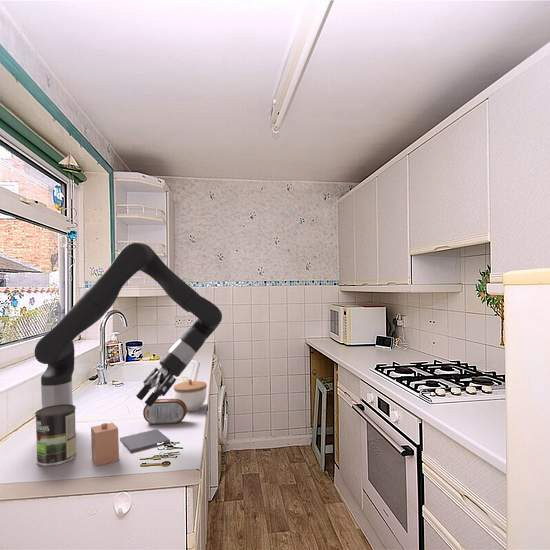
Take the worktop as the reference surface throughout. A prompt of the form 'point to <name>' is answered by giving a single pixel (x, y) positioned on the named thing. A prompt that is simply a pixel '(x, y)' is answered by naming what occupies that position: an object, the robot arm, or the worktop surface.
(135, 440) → the plate
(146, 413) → the tin
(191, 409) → the lidded bowl
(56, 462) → the coffee can
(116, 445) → the tan upright box
